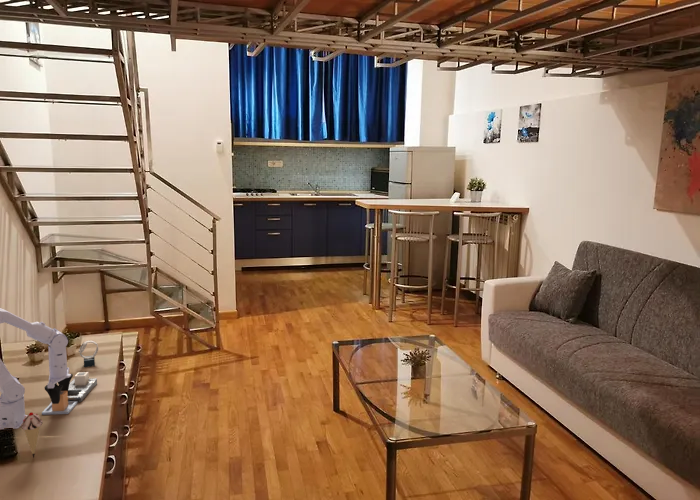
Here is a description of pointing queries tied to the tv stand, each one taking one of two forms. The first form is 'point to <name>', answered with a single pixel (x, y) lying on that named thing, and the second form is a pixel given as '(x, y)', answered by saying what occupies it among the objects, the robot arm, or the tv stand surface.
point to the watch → (88, 360)
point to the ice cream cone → (32, 429)
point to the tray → (49, 411)
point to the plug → (61, 402)
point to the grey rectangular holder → (80, 390)
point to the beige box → (81, 378)
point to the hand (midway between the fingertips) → (60, 398)
